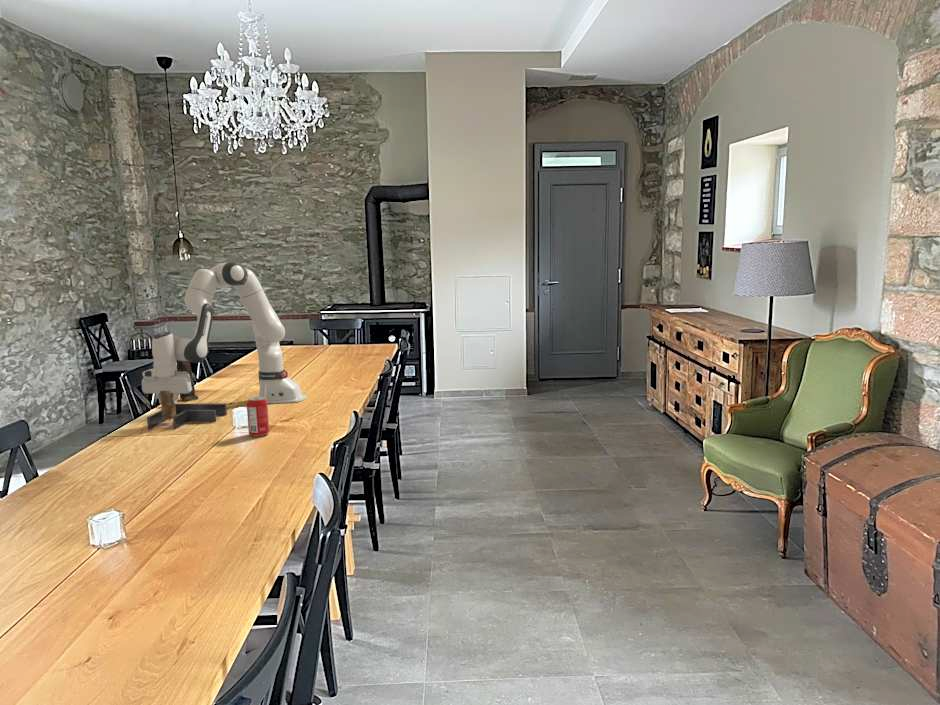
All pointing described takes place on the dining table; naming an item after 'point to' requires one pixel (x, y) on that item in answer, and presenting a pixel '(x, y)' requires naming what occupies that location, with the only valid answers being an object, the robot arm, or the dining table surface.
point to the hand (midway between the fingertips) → (168, 403)
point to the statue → (187, 367)
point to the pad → (165, 425)
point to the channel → (189, 414)
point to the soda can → (257, 416)
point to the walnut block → (167, 405)
